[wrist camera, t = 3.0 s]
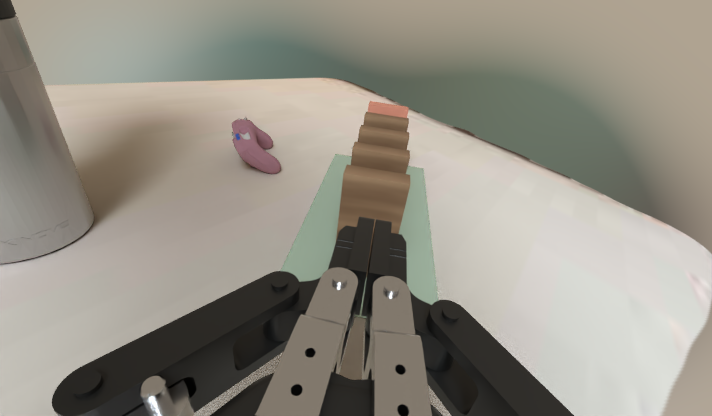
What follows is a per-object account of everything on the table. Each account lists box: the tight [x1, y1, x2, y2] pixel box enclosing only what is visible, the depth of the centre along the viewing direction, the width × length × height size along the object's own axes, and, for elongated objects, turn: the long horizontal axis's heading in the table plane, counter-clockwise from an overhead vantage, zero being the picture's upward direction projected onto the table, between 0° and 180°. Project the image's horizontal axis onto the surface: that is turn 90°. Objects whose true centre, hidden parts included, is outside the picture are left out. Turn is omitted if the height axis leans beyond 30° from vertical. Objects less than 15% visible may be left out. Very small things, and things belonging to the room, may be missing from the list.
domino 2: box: [364, 112, 409, 132], centre depth 40 cm, size 2×5×10 cm, turn 83°
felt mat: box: [281, 154, 438, 318], centre depth 38 cm, size 30×14×1 cm, turn 173°
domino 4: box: [351, 142, 410, 174], centre depth 31 cm, size 2×5×10 cm, turn 82°
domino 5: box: [336, 164, 410, 278], centre depth 27 cm, size 2×5×10 cm, turn 83°
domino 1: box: [368, 101, 408, 118], centre depth 44 cm, size 2×5×10 cm, turn 83°
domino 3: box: [358, 125, 409, 150], centre depth 36 cm, size 2×5×10 cm, turn 82°
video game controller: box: [232, 117, 281, 174], centre depth 45 cm, size 10×5×7 cm, turn 19°
